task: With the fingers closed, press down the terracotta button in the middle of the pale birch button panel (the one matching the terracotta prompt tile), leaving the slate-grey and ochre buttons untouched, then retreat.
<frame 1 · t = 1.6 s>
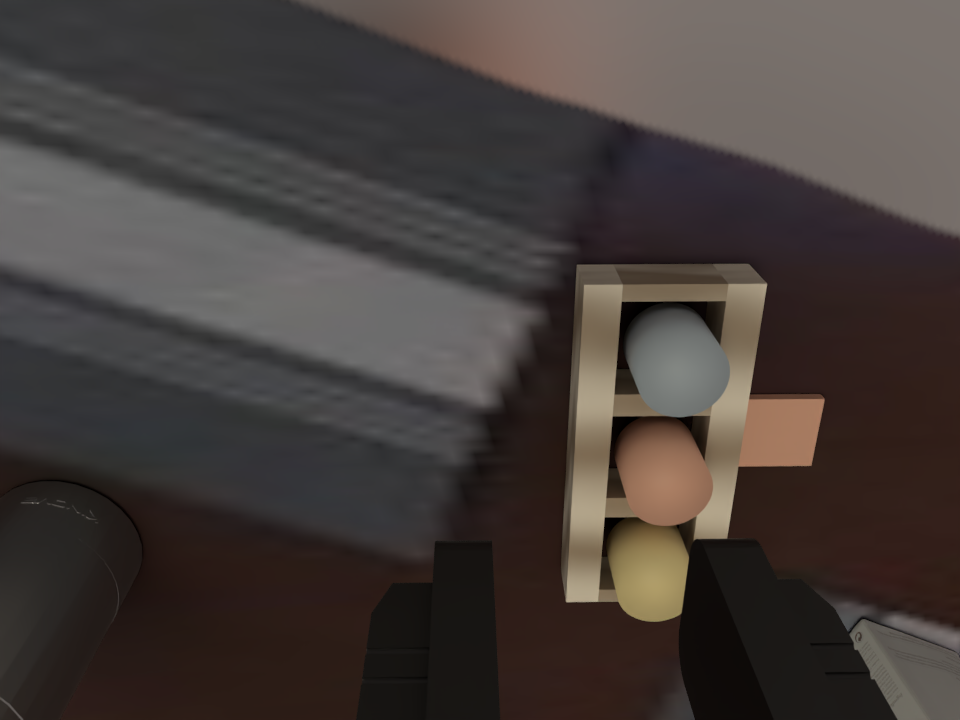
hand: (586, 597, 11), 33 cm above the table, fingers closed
prompt tile: (775, 428, 48), on the table
slate-grey button: (674, 358, 42), point 4 cm above the table, slide at 0.0 cm
button panel: (646, 429, 48), on the table
ochre button: (650, 566, 47), point 4 cm above the table, slide at 0.0 cm
skincare box: (886, 659, 56), on the table
terracotta button: (661, 469, 44), point 4 cm above the table, slide at 0.0 cm
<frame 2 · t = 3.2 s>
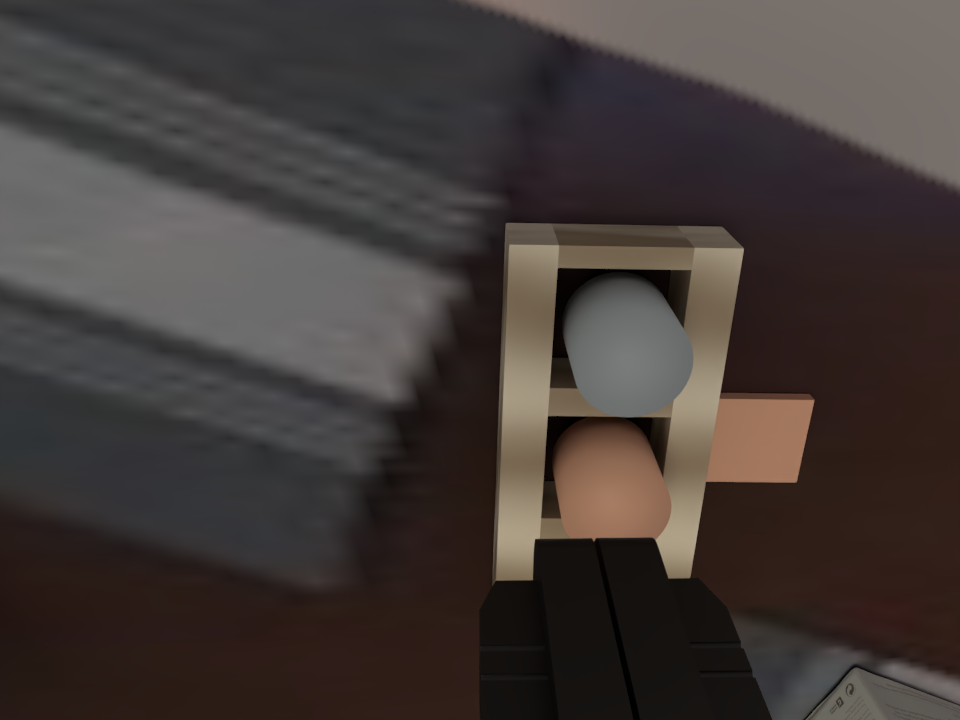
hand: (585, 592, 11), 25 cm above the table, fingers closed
prompt tile: (753, 435, 39), on the table
slate-grey button: (623, 342, 32), point 4 cm above the table, slide at 0.0 cm
button panel: (594, 434, 39), on the table
skincare box: (882, 714, 47), on the table
terracotta button: (608, 483, 35), point 4 cm above the table, slide at 0.0 cm
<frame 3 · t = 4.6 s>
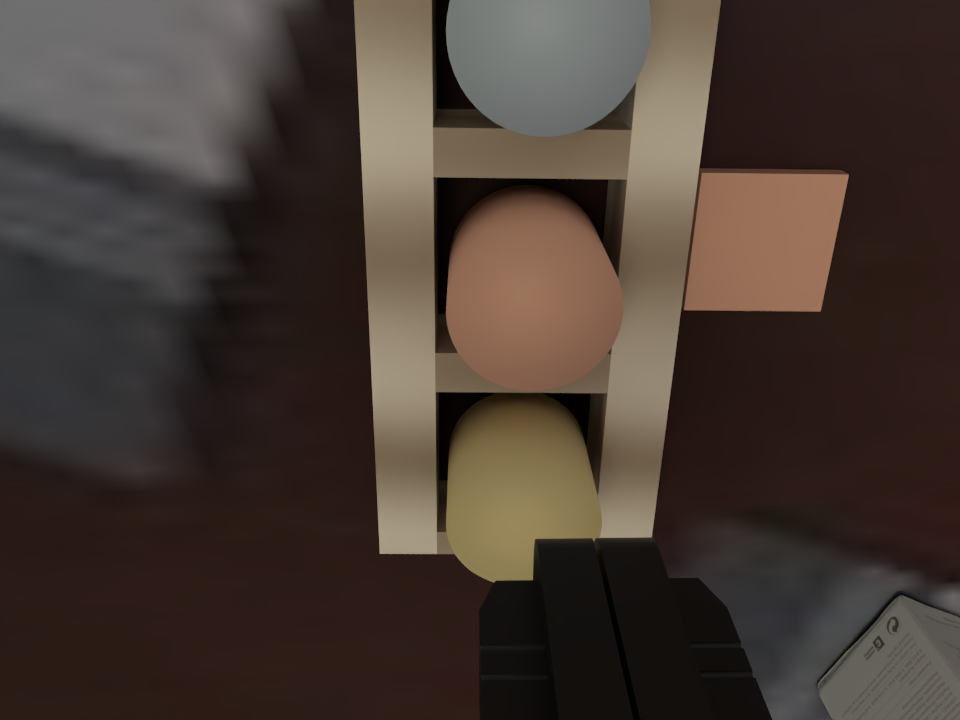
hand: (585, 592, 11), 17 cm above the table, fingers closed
prompt tile: (757, 238, 26), on the table
slate-grey button: (541, 25, 20), point 4 cm above the table, slide at 0.0 cm
button panel: (520, 237, 26), on the table
ochre button: (520, 485, 25), point 4 cm above the table, slide at 0.0 cm
skincare box: (934, 663, 35), on the table
terracotta button: (529, 284, 23), point 4 cm above the table, slide at 0.0 cm
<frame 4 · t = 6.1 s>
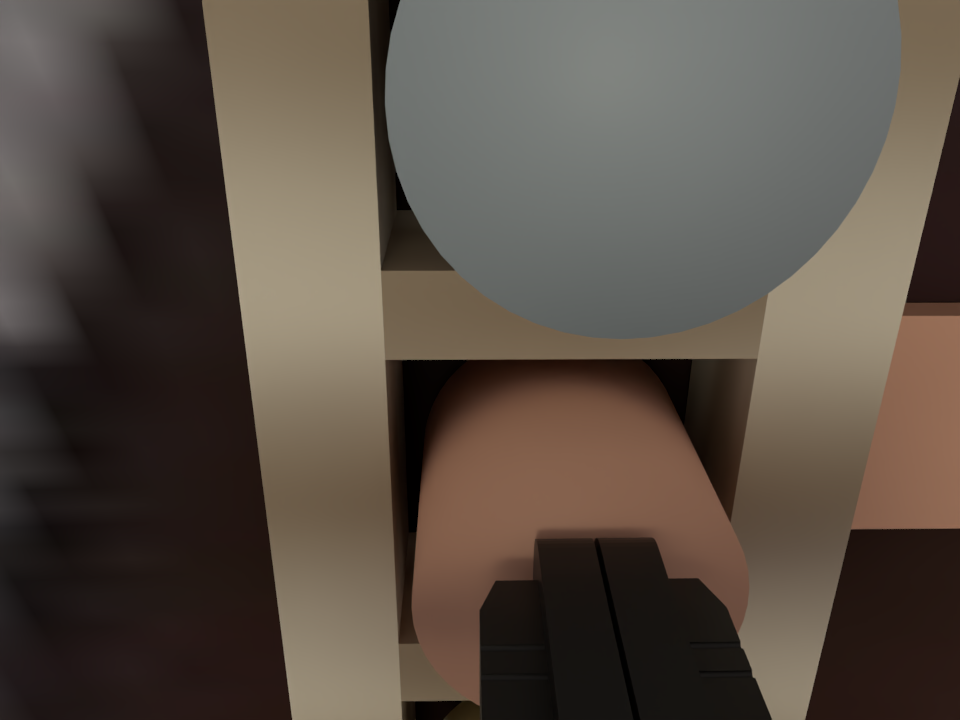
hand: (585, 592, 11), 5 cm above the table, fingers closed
prompt tile: (944, 412, 16), on the table
slate-grey button: (605, 76, 9), point 4 cm above the table, slide at 0.0 cm
button panel: (545, 416, 15), on the table
terracotta button: (563, 514, 13), point 3 cm above the table, slide at 1.1 cm, touching gripper
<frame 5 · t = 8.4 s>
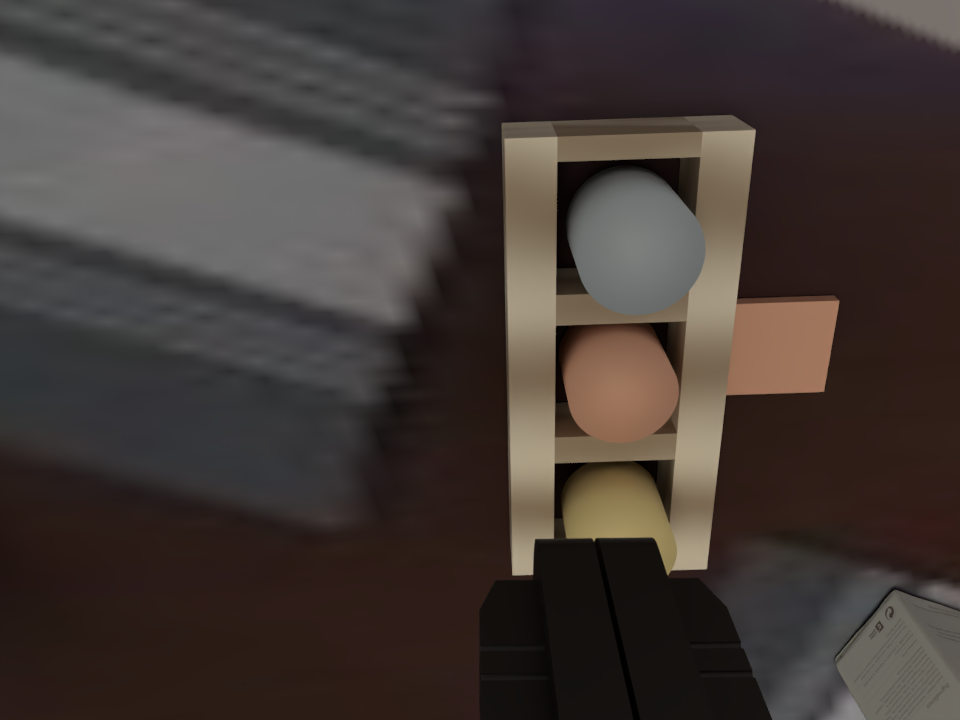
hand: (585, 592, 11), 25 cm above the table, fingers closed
prompt tile: (776, 343, 37), on the table
slate-grey button: (631, 238, 31), point 4 cm above the table, slide at 0.0 cm
button panel: (607, 349, 37), on the table
ochre button: (615, 525, 36), point 4 cm above the table, slide at 0.0 cm
skincare box: (924, 640, 45), on the table
terracotta button: (615, 372, 35), point 2 cm above the table, slide at 1.9 cm
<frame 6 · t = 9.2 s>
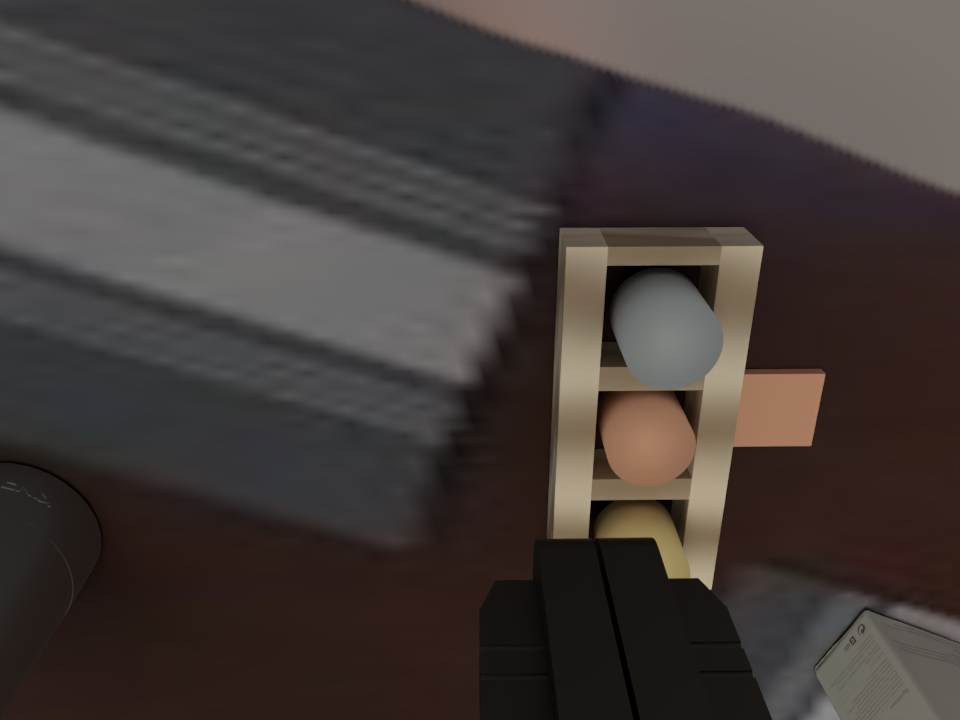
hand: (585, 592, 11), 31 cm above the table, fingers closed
prompt tile: (773, 405, 45), on the table
slate-grey button: (663, 327, 39), point 4 cm above the table, slide at 0.0 cm
button panel: (635, 407, 45), on the table
ochre button: (639, 552, 44), point 4 cm above the table, slide at 0.0 cm
skincare box: (890, 653, 53), on the table
terracotta button: (643, 428, 43), point 2 cm above the table, slide at 1.9 cm
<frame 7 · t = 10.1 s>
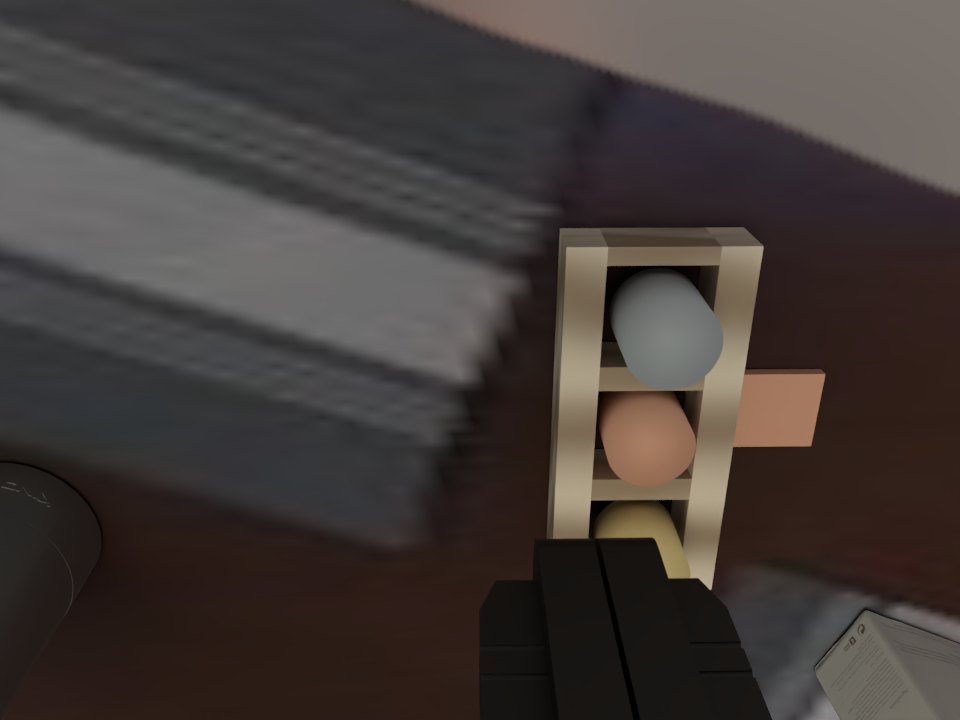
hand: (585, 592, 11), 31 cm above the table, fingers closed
prompt tile: (773, 405, 45), on the table
slate-grey button: (663, 327, 39), point 4 cm above the table, slide at 0.0 cm
button panel: (635, 407, 45), on the table
ochre button: (639, 552, 44), point 4 cm above the table, slide at 0.0 cm
skincare box: (890, 653, 53), on the table
terracotta button: (643, 428, 43), point 2 cm above the table, slide at 1.9 cm
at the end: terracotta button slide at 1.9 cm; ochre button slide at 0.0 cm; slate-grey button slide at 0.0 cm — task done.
